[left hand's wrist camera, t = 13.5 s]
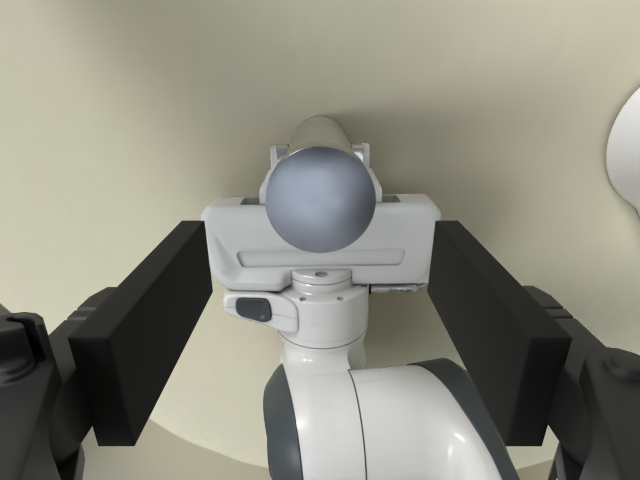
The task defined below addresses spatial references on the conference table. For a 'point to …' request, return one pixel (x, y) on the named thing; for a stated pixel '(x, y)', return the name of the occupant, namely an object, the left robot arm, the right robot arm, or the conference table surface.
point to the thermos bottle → (319, 132)
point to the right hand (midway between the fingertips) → (319, 144)
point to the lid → (320, 197)
